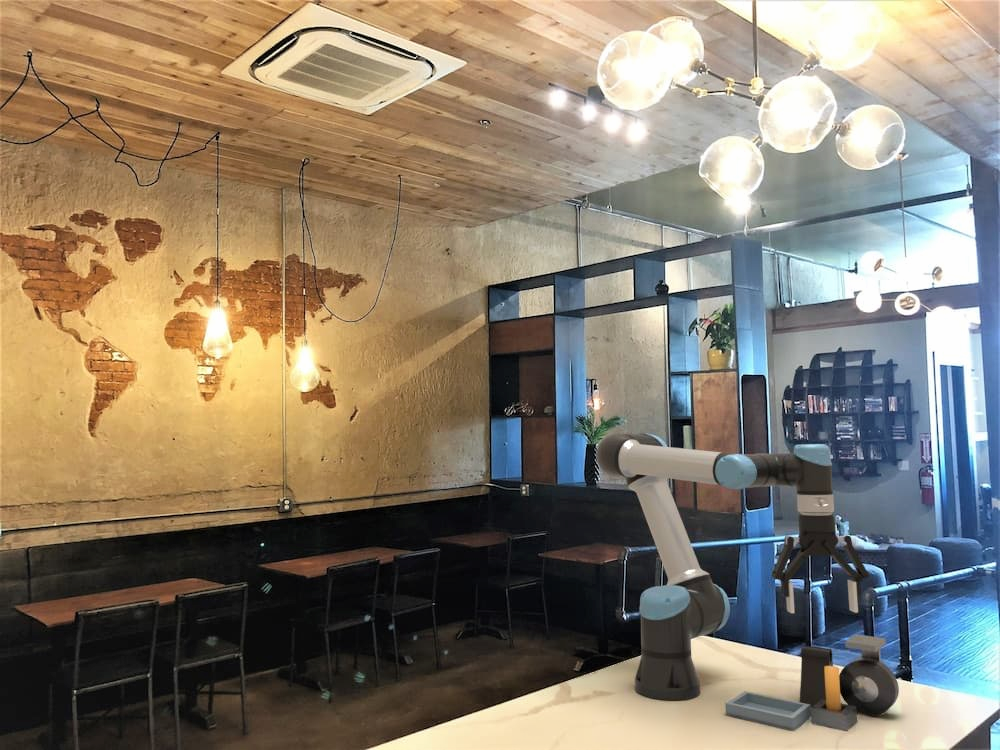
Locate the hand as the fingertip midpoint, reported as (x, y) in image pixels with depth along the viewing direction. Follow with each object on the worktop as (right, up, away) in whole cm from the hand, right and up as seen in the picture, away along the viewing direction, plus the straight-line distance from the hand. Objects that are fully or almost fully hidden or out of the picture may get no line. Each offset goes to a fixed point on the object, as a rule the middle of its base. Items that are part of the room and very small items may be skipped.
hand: (822, 611), depth 165 cm
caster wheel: (+9, -21, -3) cm, 23 cm away
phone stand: (+1, -22, +3) cm, 22 cm away
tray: (-13, -21, -5) cm, 25 cm away
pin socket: (-1, -20, -9) cm, 22 cm away
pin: (-1, -20, -9) cm, 22 cm away
